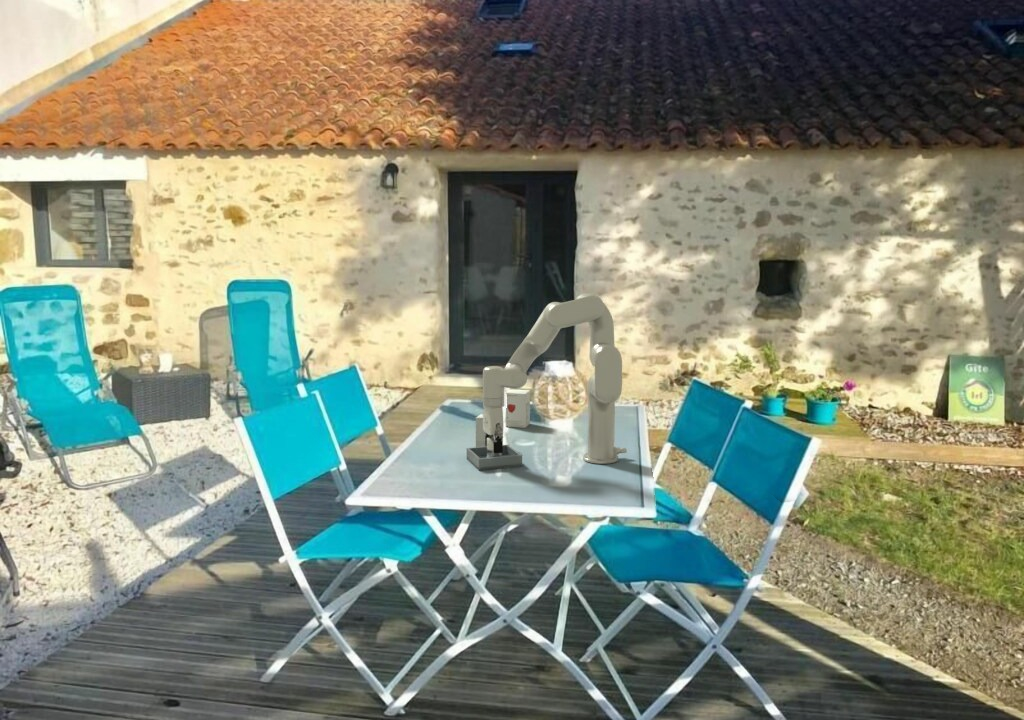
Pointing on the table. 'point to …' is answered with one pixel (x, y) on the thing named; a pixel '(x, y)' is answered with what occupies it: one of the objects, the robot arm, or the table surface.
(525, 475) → the table surface
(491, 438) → the tin can
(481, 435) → the supplement box
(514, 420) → the supplement box
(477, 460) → the tray
